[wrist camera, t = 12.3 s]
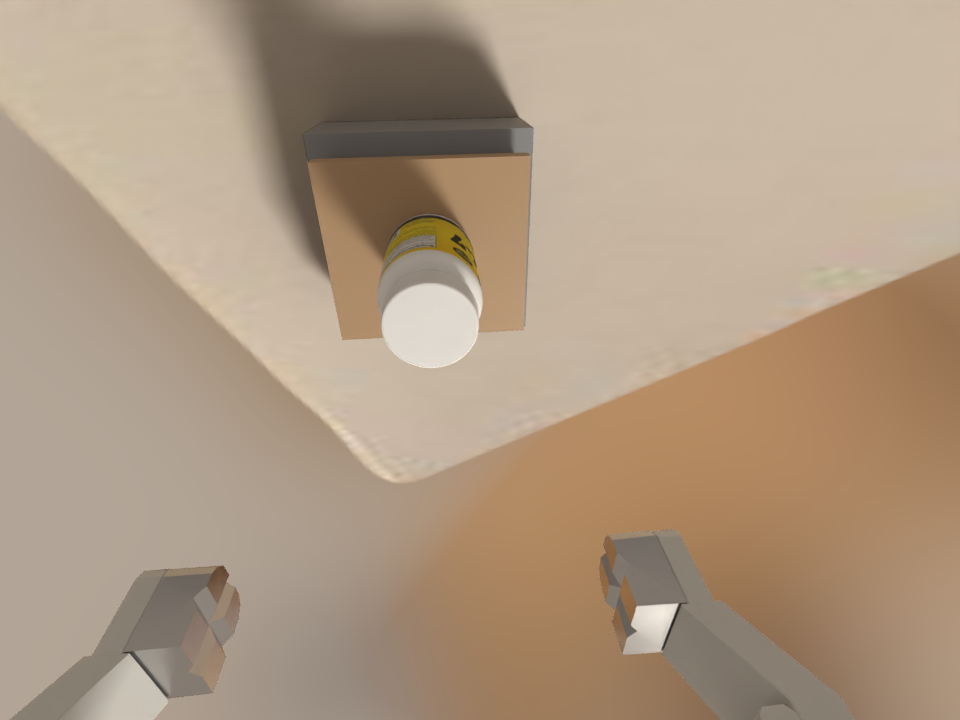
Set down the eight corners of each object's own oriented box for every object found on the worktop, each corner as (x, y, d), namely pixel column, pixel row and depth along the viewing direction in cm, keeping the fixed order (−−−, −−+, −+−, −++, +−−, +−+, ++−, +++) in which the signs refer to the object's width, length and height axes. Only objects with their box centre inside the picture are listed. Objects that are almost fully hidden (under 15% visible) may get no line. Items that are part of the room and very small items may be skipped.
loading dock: (519, 117, 29) (541, 133, 23) (514, 294, 36) (530, 343, 30) (321, 122, 29) (291, 140, 23) (353, 302, 35) (336, 354, 29)
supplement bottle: (484, 279, 27) (502, 358, 20) (407, 304, 28) (399, 391, 21) (457, 198, 25) (467, 256, 18) (372, 227, 25) (349, 296, 18)
